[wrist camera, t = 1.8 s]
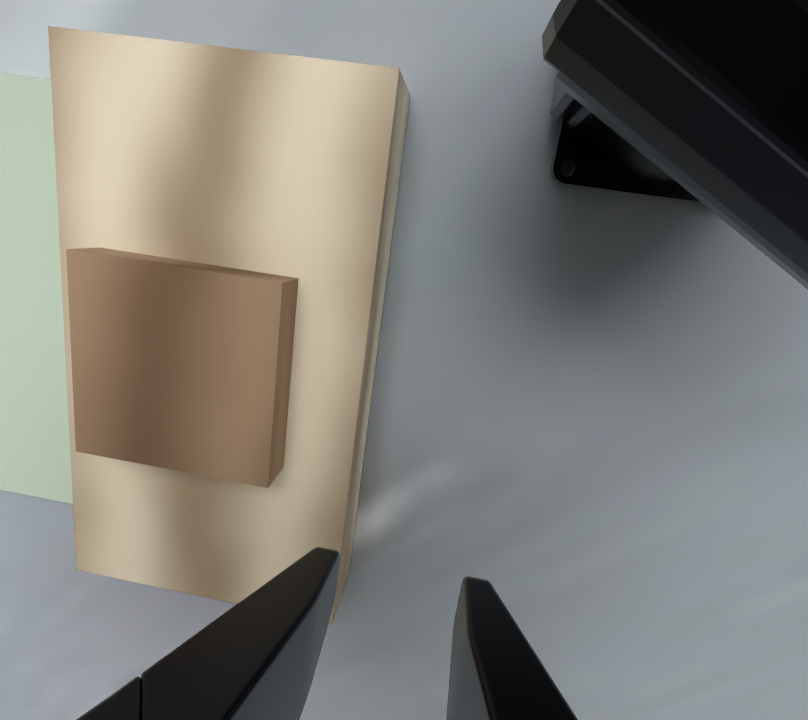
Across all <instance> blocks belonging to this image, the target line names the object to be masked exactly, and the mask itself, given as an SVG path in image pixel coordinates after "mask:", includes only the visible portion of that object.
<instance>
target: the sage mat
mask: <svg viewBox="0 0 808 720" xmlns="http://www.w3.org/2000/svg"><path fill="white" fill-rule="evenodd" d="M0 490H5V491H10V492H15V493H20V494H25V495H30V496H35V497H40V498H45V499H50V500H55V501H60V502H65V503H70V504H73V494H72V475H71V456H70V436H69V417H68V397H67V378H66V358H65V339H64V320H63V300H62V281H61V261H60V242H59V222H58V203H57V184H56V164H55V145H54V125H53V106H52V87H51V79H46V78H39V77H31V76H23V75H15V74H8V73H0Z"/></svg>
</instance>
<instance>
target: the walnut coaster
mask: <svg viewBox="0 0 808 720" xmlns="http://www.w3.org/2000/svg"><path fill="white" fill-rule="evenodd" d="M66 258H67V278H68V299H69V320H70V341H71V361H72V382H73V403H74V424H75V445H76V452H81V453H86V454H91V455H97V456H102V457H107V458H112V459H118V460H123V461H128V462H133V463H139V464H144V465H149V466H155V467H160V468H165V469H170V470H176V471H181V472H186V473H191V474H197V475H202V476H207V477H212V478H218V479H223V480H228V481H233V482H239V483H244V484H249V485H254V486H260V487H265V488H268V487H269V486H270V485H271V483H272V482H273V481H274V479H275V478H276V477H277V476H278V474H279V473H280V472H281V470H282V469H283V468H284V456H285V443H286V430H287V418H288V405H289V392H290V380H291V367H292V355H293V342H294V329H295V317H296V304H297V292H298V279H299V278H294V277H287V276H281V275H274V274H268V273H261V272H255V271H249V270H242V269H236V268H229V267H223V266H216V265H210V264H204V263H197V262H191V261H184V260H178V259H171V258H165V257H159V256H152V255H146V254H139V253H133V252H126V251H120V250H114V249H107V248H101V247H99V248H78V249H66Z"/></svg>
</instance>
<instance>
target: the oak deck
mask: <svg viewBox="0 0 808 720" xmlns="http://www.w3.org/2000/svg"><path fill="white" fill-rule="evenodd" d="M48 28H49V48H50V67H51V87H52V106H53V125H54V145H55V164H56V184H57V203H58V222H59V242H60V261H61V281H62V300H63V320H64V339H65V358H66V378H67V397H68V417H69V436H70V456H71V475H72V494H73V514H74V533H75V553H76V570H79V571H84V572H89V573H93V574H98V575H103V576H108V577H113V578H117V579H122V580H127V581H132V582H136V583H141V584H146V585H151V586H155V587H160V588H165V589H170V590H174V591H179V592H184V593H189V594H194V595H198V596H203V597H208V598H213V599H217V600H222V601H227V602H232V603H236V604H238V603H239V602H241V601H242V600H243V599H245V598H246V597H248V596H249V595H250V594H252V593H253V592H254V591H256V590H257V589H259V588H260V587H261V586H263V585H264V584H266V583H267V582H268V581H270V580H271V579H272V578H274V577H275V576H277V575H278V574H279V573H281V572H282V571H283V570H285V569H286V568H288V567H289V566H290V565H292V564H293V563H294V562H296V561H297V560H299V559H300V558H301V557H303V556H304V555H305V554H307V553H308V552H310V551H311V550H312V549H314V548H316V547H322V548H327V549H332V550H337V551H338V552H339V554H340V563H339V571H338V580H337V588H336V595H335V600H334V605H333V609H332V612H331V616H330V619H329V623H333V620H334V617H335V614H336V611H337V608H338V605H339V602H340V599H341V596H342V593H343V590H344V587H345V584H346V581H347V578H348V575H349V569H350V561H351V553H352V546H353V538H354V530H355V522H356V514H357V507H358V499H359V491H360V483H361V475H362V468H363V460H364V452H365V444H366V436H367V428H368V421H369V413H370V405H371V397H372V389H373V382H374V374H375V366H376V358H377V350H378V343H379V335H380V327H381V319H382V311H383V303H384V296H385V288H386V280H387V272H388V264H389V257H390V249H391V241H392V233H393V225H394V218H395V210H396V202H397V194H398V186H399V178H400V171H401V163H402V155H403V147H404V139H405V132H406V124H407V116H408V108H409V100H410V94H409V91H408V89H407V86H406V84H405V81H404V79H403V76H402V74H401V71H400V69H399V68H393V67H385V66H376V65H368V64H360V63H351V62H343V61H335V60H326V59H318V58H310V57H301V56H293V55H285V54H276V53H268V52H260V51H251V50H243V49H235V48H226V47H218V46H210V45H201V44H193V43H185V42H176V41H168V40H160V39H151V38H143V37H135V36H126V35H118V34H110V33H101V32H93V31H85V30H76V29H68V28H59V27H51V26H48ZM99 247H101V248H107V249H114V250H120V251H126V252H133V253H139V254H146V255H152V256H159V257H165V258H171V259H178V260H184V261H191V262H197V263H204V264H210V265H216V266H223V267H229V268H236V269H242V270H249V271H255V272H261V273H268V274H274V275H281V276H287V277H294V278H299V279H298V292H297V304H296V317H295V329H294V342H293V355H292V367H291V380H290V392H289V405H288V418H287V430H286V443H285V456H284V468H283V469H282V470H281V472H280V473H279V474H278V476H277V477H276V478H275V479H274V481H273V482H272V483H271V485H270V486H269V487H268V488H265V487H260V486H254V485H249V484H244V483H239V482H233V481H228V480H223V479H218V478H212V477H207V476H202V475H197V474H191V473H186V472H181V471H176V470H170V469H165V468H160V467H155V466H149V465H144V464H139V463H133V462H128V461H123V460H118V459H112V458H107V457H102V456H97V455H91V454H86V453H81V452H76V445H75V424H74V403H73V382H72V361H71V341H70V320H69V299H68V278H67V258H66V249H78V248H99Z"/></svg>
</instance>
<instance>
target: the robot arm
mask: <svg viewBox="0 0 808 720" xmlns="http://www.w3.org/2000/svg"><path fill="white" fill-rule="evenodd" d="M542 43H543V59H544V60H545V61H546V62H547V63H548V64H550V65H551V66H552V67H553V68H554V69H556V70H557V71H558V75H557V77H556V80H555V83H556V87H555V92H554V97H553V102H552V107H551V114H552V116H553V117H554V119H555V120H557V121H561V123H560V128H559V133H558V137H557V142H556V147H555V152H554V157H553V162H552V166H551V175H552V177H553V179H554V180H555V181H556V182H557V183H559V184H562V185H567V186H575V187H582V188H590V189H597V190H605V191H612V192H619V193H627V194H634V195H642V196H649V197H656V198H664V199H671V200H679V201H686V202H694V203H701V204H704V205H705V206H706V207H708V208H709V209H710V210H711V211H713V212H714V213H715V214H716V215H717V216H719V217H720V218H721V219H722V220H724V221H725V222H726V223H727V224H728V225H730V226H731V227H732V228H733V229H735V230H736V231H737V232H738V233H739V234H741V235H742V236H743V237H744V238H746V239H747V240H748V241H749V242H750V243H752V244H753V245H754V246H755V247H757V248H758V249H759V250H760V251H761V252H763V253H764V254H765V255H766V256H768V257H769V258H770V259H771V260H772V261H774V262H775V263H776V264H777V265H779V266H780V267H781V268H782V269H783V270H785V271H786V272H787V273H788V274H790V275H791V276H792V277H793V278H795V279H796V280H797V281H798V282H799V283H801V284H802V285H803V286H804V287H806V288H807V289H808V0H561V1H560V3H559V4H558V6H557V8H556V10H555V12H554V13H553V15H552V17H551V19H550V21H549V23H548V25H547V27H546V30H545V32H544V34H543V36H542ZM563 162H569V163H571V164H572V166H573V172H572V174H571V175H570V176H564V175H563V174H562V173H561V170H560V167H561V165H562V163H563ZM339 563H340V554H339V552H338V551H337V550H332V549H327V548H322V547H316V548H314V549H312V550H311V551H310V552H308V553H307V554H305V555H304V556H303V557H301V558H300V559H299V560H297V561H296V562H294V563H293V564H292V565H290V566H289V567H288V568H286V569H285V570H283V571H282V572H281V573H279V574H278V575H277V576H275V577H274V578H272V579H271V580H270V581H268V582H267V583H266V584H264V585H263V586H261V587H260V588H259V589H257V590H256V591H254V592H253V593H252V594H250V595H249V596H248V597H246V598H245V599H243V600H242V601H241V602H239V603H238V604H237V605H235V606H234V607H232V608H231V609H230V610H228V611H227V612H226V613H224V614H223V615H221V616H220V617H219V618H217V619H216V620H215V621H213V622H212V623H210V624H209V625H208V626H206V627H205V628H204V629H202V630H201V631H199V632H198V633H197V634H195V635H194V636H193V637H191V638H190V639H188V640H187V641H186V642H184V643H183V644H182V645H180V646H179V647H177V648H176V649H175V650H173V651H172V652H171V653H169V654H168V655H166V656H165V657H164V658H162V659H161V660H160V661H158V662H157V663H155V664H154V665H153V666H151V667H150V668H149V669H147V670H146V671H144V672H143V673H142V675H141V678H140V677H136V678H134V679H133V680H132V681H130V682H129V683H127V684H126V685H125V686H123V687H122V688H121V689H119V690H118V691H116V692H115V693H114V694H112V695H111V696H110V697H108V698H107V699H105V700H104V701H102V702H101V703H99V704H98V705H97V706H95V707H94V708H92V709H91V710H89V711H88V712H86V713H85V714H84V715H82V716H81V717H79V718H78V719H76V720H299V718H300V716H301V713H302V710H303V708H304V705H305V702H306V699H307V696H308V693H309V690H310V686H311V683H312V680H313V676H314V673H315V669H316V665H317V662H318V658H319V655H320V651H321V648H322V644H323V641H324V637H325V633H326V630H327V626H328V623H329V619H330V616H331V612H332V609H333V605H334V600H335V595H336V588H337V580H338V571H339ZM447 720H578V719H577V718H576V716H575V714H574V713H573V711H572V710H571V708H570V707H569V705H568V703H567V702H566V700H565V699H564V697H563V696H562V694H561V693H560V691H559V689H558V688H557V686H556V685H555V683H554V682H553V680H552V678H551V677H550V675H549V674H548V672H547V671H546V669H545V668H544V666H543V664H542V663H541V661H540V660H539V658H538V657H537V655H536V653H535V652H534V650H533V649H532V647H531V646H530V644H529V643H528V641H527V639H526V638H525V636H524V635H523V633H522V632H521V630H520V628H519V627H518V625H517V624H516V622H515V621H514V619H513V618H512V616H511V614H510V613H509V611H508V610H507V608H506V607H505V605H504V603H503V602H502V600H501V599H500V597H499V596H498V594H497V593H496V591H495V589H494V588H493V586H492V585H491V583H490V582H489V581H487V580H484V579H479V578H474V577H469V576H467V577H465V578H464V579H463V581H462V585H461V590H460V595H459V600H458V605H457V610H456V614H455V620H454V627H453V639H452V653H451V666H450V680H449V693H448V707H447Z"/></svg>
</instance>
